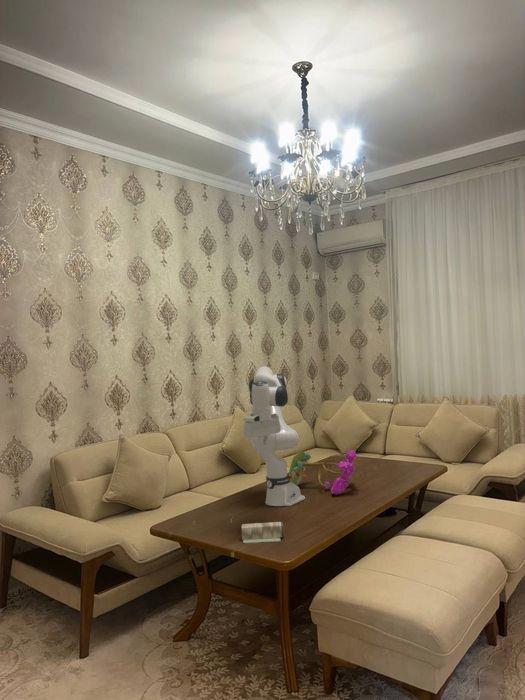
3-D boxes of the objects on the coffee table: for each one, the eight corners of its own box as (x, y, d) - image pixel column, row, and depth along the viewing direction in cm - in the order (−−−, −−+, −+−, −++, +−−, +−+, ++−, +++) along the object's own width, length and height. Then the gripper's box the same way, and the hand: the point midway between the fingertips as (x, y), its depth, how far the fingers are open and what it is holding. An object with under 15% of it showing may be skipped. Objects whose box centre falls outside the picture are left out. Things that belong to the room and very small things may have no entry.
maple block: (282, 521, 232) (241, 524, 232) (282, 525, 227) (241, 528, 227) (283, 533, 232) (242, 535, 232) (283, 537, 227) (242, 539, 227)
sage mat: (279, 531, 236) (279, 530, 236) (280, 541, 224) (280, 540, 224) (244, 533, 236) (243, 532, 236) (243, 543, 224) (243, 542, 224)
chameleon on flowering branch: (304, 433, 315) (361, 443, 301) (304, 475, 323) (360, 486, 309) (285, 456, 289) (347, 468, 275) (286, 501, 298) (346, 514, 283)
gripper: (273, 412, 257) (275, 440, 257) (241, 418, 244) (242, 447, 244) (282, 413, 252) (284, 442, 252) (249, 419, 239) (251, 449, 239)
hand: (263, 445), depth 248 cm, fingers closed
